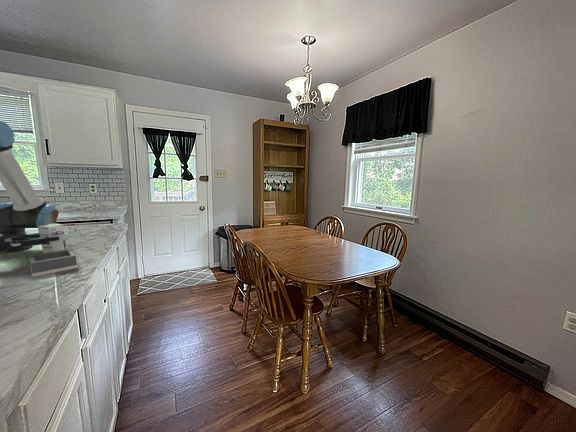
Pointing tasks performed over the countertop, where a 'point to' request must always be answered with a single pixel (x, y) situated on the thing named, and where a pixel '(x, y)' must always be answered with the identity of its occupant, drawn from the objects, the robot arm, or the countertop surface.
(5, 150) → the robot arm
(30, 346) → the countertop surface
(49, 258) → the box
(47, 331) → the countertop surface
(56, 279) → the countertop surface
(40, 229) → the syrup box
